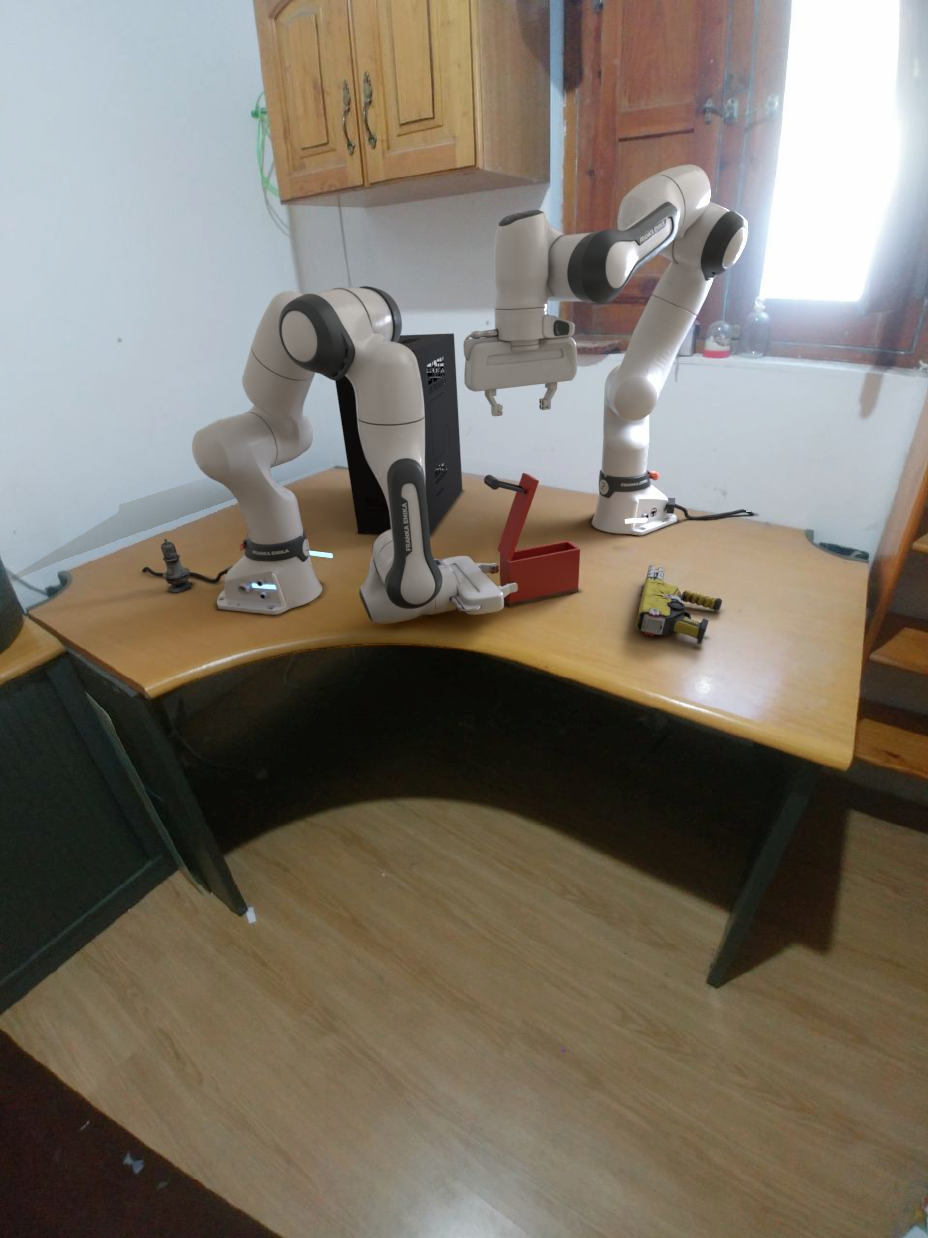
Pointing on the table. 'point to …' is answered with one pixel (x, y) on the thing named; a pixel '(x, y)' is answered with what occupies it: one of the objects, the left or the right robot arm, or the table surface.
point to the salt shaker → (175, 569)
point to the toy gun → (670, 608)
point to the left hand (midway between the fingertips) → (506, 576)
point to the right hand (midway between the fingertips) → (521, 412)
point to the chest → (541, 572)
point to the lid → (514, 510)
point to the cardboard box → (438, 437)
